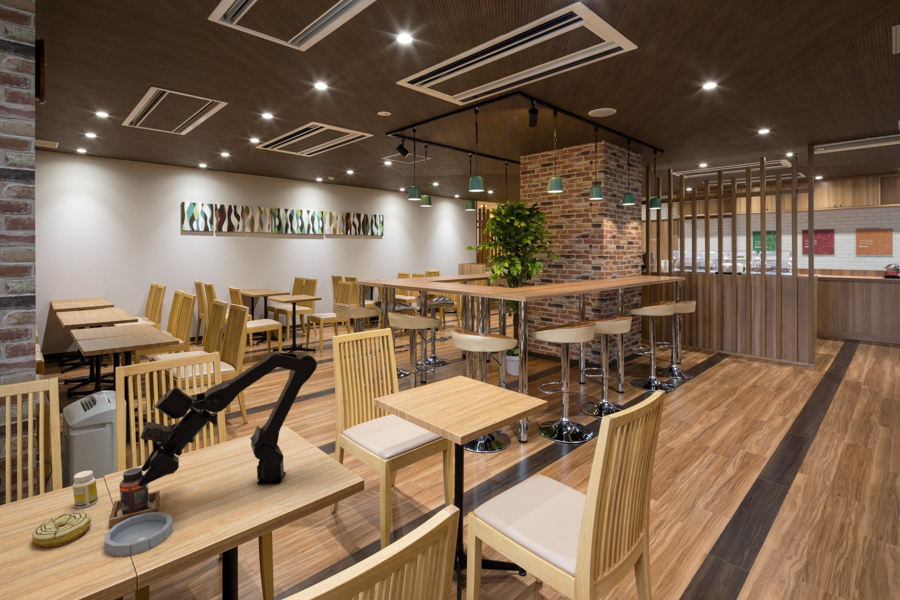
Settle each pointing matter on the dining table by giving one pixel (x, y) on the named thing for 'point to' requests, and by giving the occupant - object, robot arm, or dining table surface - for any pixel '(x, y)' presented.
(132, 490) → the supplement bottle
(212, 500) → the dining table surface
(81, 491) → the supplement bottle
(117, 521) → the tray
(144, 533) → the dish
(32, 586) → the dining table surface
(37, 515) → the dining table surface
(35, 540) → the decorated donut
